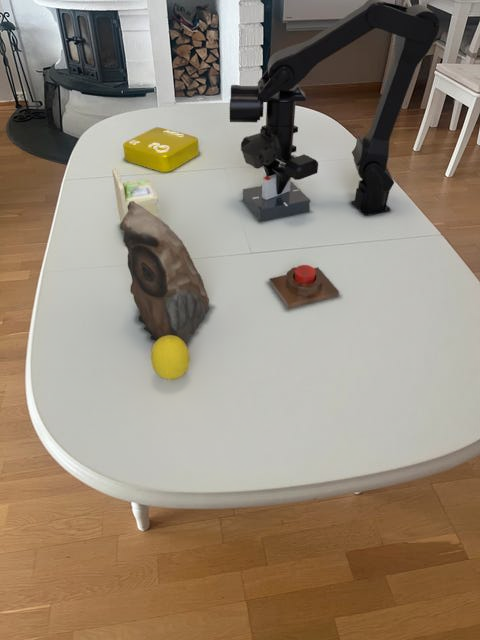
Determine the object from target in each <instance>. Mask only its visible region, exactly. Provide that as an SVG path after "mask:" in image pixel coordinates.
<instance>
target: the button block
mask: <svg viewBox="0 0 480 640" xmlns="http://www.w3.org/2000/svg"><path fill="white" fill-rule="evenodd" d="M297 267H298V266H296V267H291V269H290V270H288V271H287V272H286V274H284V275H279V276H274V277H271V278H269V285H270V287H271V288H272V289H273V291H274V292H275V294H276V295H277V296H278V298H279V300H280V301H281V302H282V303H283V305H284V306H285V308H286V310H291V309H296V308H299V307H303V306H306V305H310V304H314V303H319V302H322V301H326V300H330V299H334V298H338V297H339V294H340V291H339V290H338V289H337V287H335V285H334V284H333V283H332V282H331V281H330V279H329V278H328V277H327V276H326V275H325V274H324V272H323V271H322V270H321V269H320V268H319V267H313V268H314V269H315V271H316V273H315V280H314V282H313V283H310V284H301V283H299V282H296V281H295V279H294V277H295V269H296V268H297Z"/></svg>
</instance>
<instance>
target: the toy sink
mask: <svg viewBox="0 0 480 640" xmlns="http://www.w3.org/2000/svg"><path fill="white" fill-rule="evenodd" d="M111 170H112V178H113V183H114V191H115V197H116V204H117V209H118V215H119V221H120V223H121V222H122V220H123V218H124V217H125V215H126V214H127V212H128V207H127V206H128V205H129V202H131V201H134V202H135V203H136V204H138V205H140V206H142V207H143V208H144V209H146V210H147V211H148V212H150V213H151V214H153V215H154V216H156V217H157V218H159V214H158V202H159V196H158V194H157V192H156V190H155V188H154V186H153V184H152V181H151V180H150V179H140V180H136V181H125V182H123V181H122V178H121V176H120V173H119V170H118V169H117V168H112V169H111ZM122 232H123V233H124V231H123V230H122Z"/></svg>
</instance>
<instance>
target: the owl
mask: <svg viewBox="0 0 480 640" xmlns="http://www.w3.org/2000/svg"><path fill="white" fill-rule="evenodd" d="M127 207H128V212H127V214H126V215H125V217H124V218H123V220H122V222H120V225H119V228H120V229H121V231H122V232H123V231H124V232H123V244H124V245H125V247H126V249H127V252H128V253H127V268H128V270H129V273H130V276H131V284H130V289H129V290H130V293H131V295H132V296H133V301H134V303H135V305H136V307H137V309H138V311H139V316H138V317H137V318H138V322H139V323H142V324H143V325H144V328H143V330H144V331H146V332H148V333H149V335H150V337H149V338H150V340H152V341H155V342H156V341H157V340H158V339H159V338H161V337H163V336H166V335H174V336H177V337H179V338H180V339H182V340H183V341H184V343H185V344H186V345H187V342H189V340H190V339H189V338H190V337H191V336H192V335H194V334H195V331H196V329H197V328H198V327H199V325H200V324H201V323H203V322H204V320H205V319H206V317H207V314H208V313H209V311H210V309H211V306H210V298H209V297H208V293H207V290H206V287H205V283H204V280H203V279H202V276H201V274H200V273H199V271H198V269H197V268H196V266H195V264H194V262H193V259H192V257H191V255H190V252H189V251H188V248H187V247H186V246H185V244H184V242H183V240H182V239H181V238H180V237H179V236H178V235H177V234H176V233H175V232H174V231H173V229H172V228H171V227H170V226H169V225H168V224H167V223H166V222H164V221H163V220H161V218H159V217H158V218H157V217H156V216H154V215H153V214H151V213H150V212H148V211H147V210H146V209H144V208H143V207H142V206H140V205H138V204H136V203H135V202H134V201H131V202H129V205H128V206H127Z"/></svg>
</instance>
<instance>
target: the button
mask: <svg viewBox="0 0 480 640" xmlns="http://www.w3.org/2000/svg"><path fill="white" fill-rule="evenodd" d="M296 267H297V268H296V269H295V277H294V279H295V281H296V282H299V283H301V284H310V283H313V282H314V280H315V273H316V271H315V269H314V268H315V267H313V266H311V265H307V264H301V265H298V266H296Z"/></svg>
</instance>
